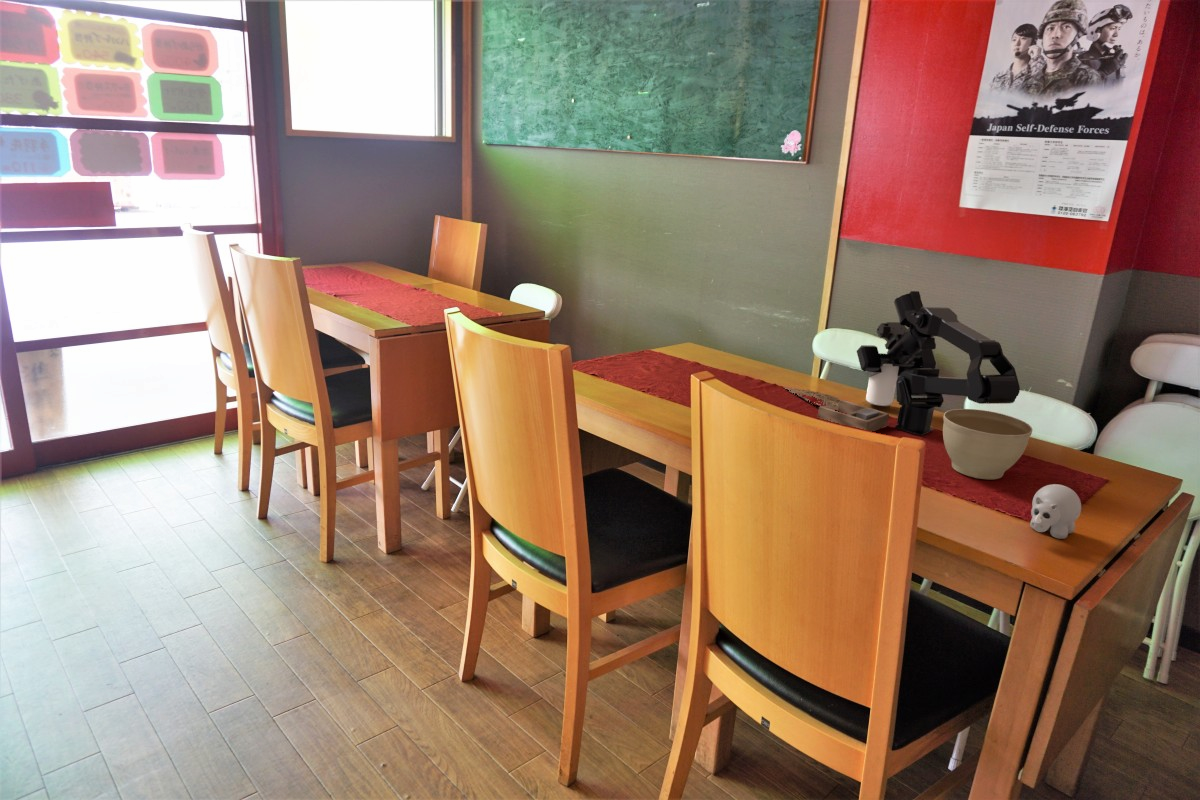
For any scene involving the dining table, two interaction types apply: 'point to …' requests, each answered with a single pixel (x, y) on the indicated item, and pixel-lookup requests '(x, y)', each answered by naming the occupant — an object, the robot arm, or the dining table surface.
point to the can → (882, 386)
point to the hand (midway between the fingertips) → (880, 375)
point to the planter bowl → (984, 441)
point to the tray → (853, 416)
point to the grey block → (867, 414)
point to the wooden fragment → (826, 399)
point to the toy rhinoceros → (1055, 510)
